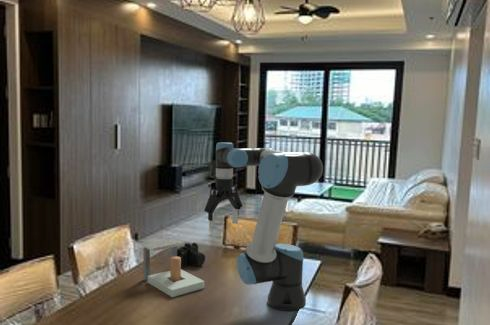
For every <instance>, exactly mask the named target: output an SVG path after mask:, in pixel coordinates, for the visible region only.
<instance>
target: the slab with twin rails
mask: <svg viewBox="0 0 490 325" xmlns="http://www.w3.org/2000/svg"><path fill="white" fill-rule="evenodd" d="M142 246H143V247H142V248H143V250H142V251H143V269H142V270H143V273H142V274H143V275H142V276H143V278H142V279H143V281H145V282H148V276H149V275H150V274H151V273H150V270H151V269H150V268H151V267H150V266H151V261H150V260H151V258H150V257H151V256H150V255H151V254H150V253H151V252H156V251H161V250H164V249H165V250H166V249H170V258H171V257H175V256H177V249H178V247H180V246H185V242H184V241H183V240H180V239H177V238H169V239H164V240H158V241H154V242H149V243H148V242H147V243H143V245H142Z"/></svg>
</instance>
